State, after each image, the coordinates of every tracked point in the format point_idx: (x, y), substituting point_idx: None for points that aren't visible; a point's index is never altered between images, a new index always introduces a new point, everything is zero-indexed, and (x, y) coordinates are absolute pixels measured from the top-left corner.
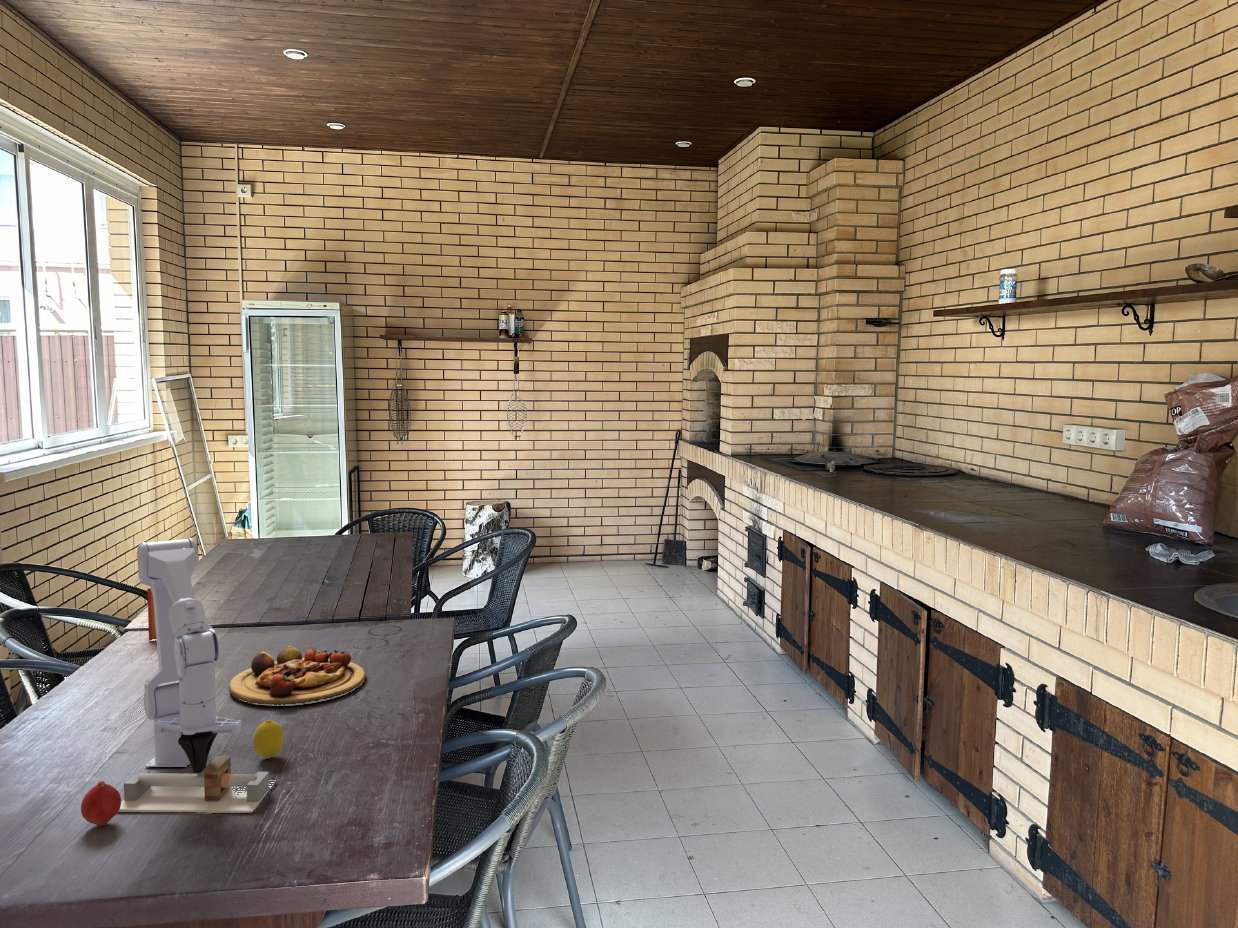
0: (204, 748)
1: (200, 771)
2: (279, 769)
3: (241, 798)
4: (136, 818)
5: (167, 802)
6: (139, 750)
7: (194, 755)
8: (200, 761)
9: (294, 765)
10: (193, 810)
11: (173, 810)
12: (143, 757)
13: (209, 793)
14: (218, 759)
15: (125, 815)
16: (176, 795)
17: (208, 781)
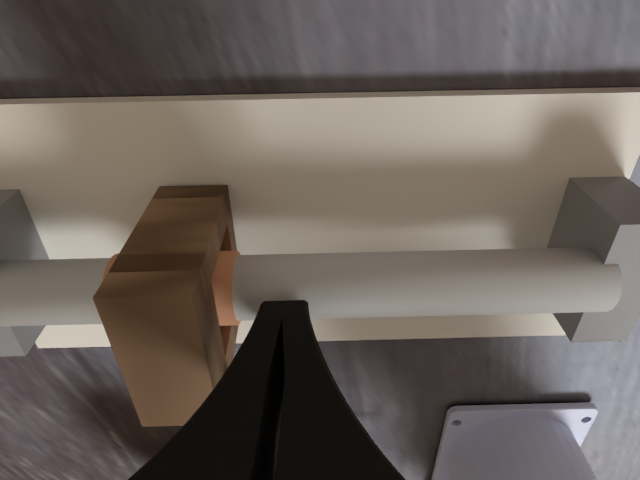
0: (165, 444)
1: (260, 308)
2: (113, 413)
3: (71, 216)
4: (516, 27)
5: (408, 168)
6: (636, 473)
7: (285, 391)
8: (239, 352)
9: (80, 433)
10: (236, 99)
11: (344, 97)
12: (614, 446)
13: (193, 203)
14: (185, 395)
15: (583, 58)
16: (393, 228)
17: (182, 241)
